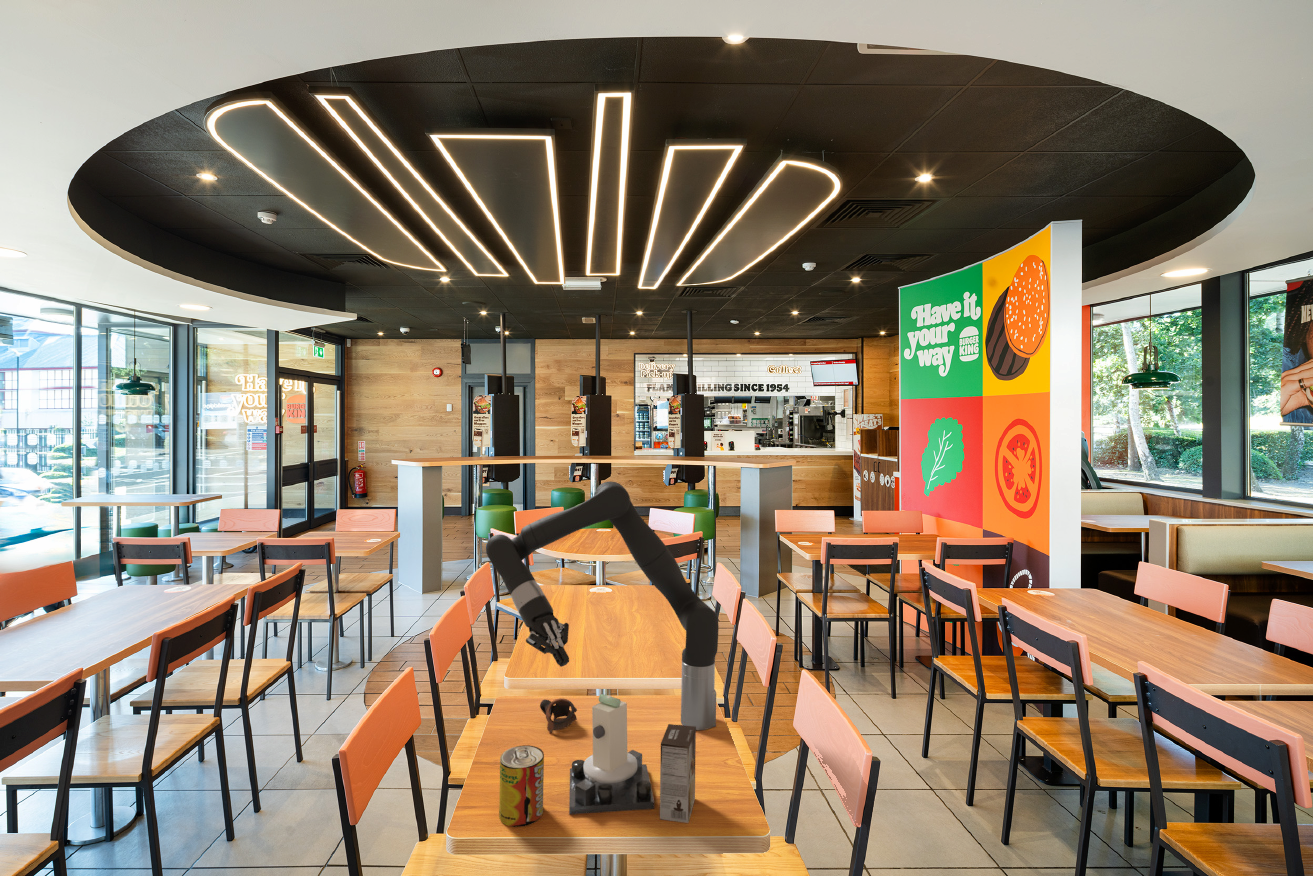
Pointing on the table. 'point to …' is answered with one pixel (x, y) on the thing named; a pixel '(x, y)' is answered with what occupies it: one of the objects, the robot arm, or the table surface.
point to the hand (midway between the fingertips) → (565, 664)
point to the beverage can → (521, 786)
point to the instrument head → (609, 743)
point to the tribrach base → (618, 790)
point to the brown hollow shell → (558, 713)
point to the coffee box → (677, 773)
